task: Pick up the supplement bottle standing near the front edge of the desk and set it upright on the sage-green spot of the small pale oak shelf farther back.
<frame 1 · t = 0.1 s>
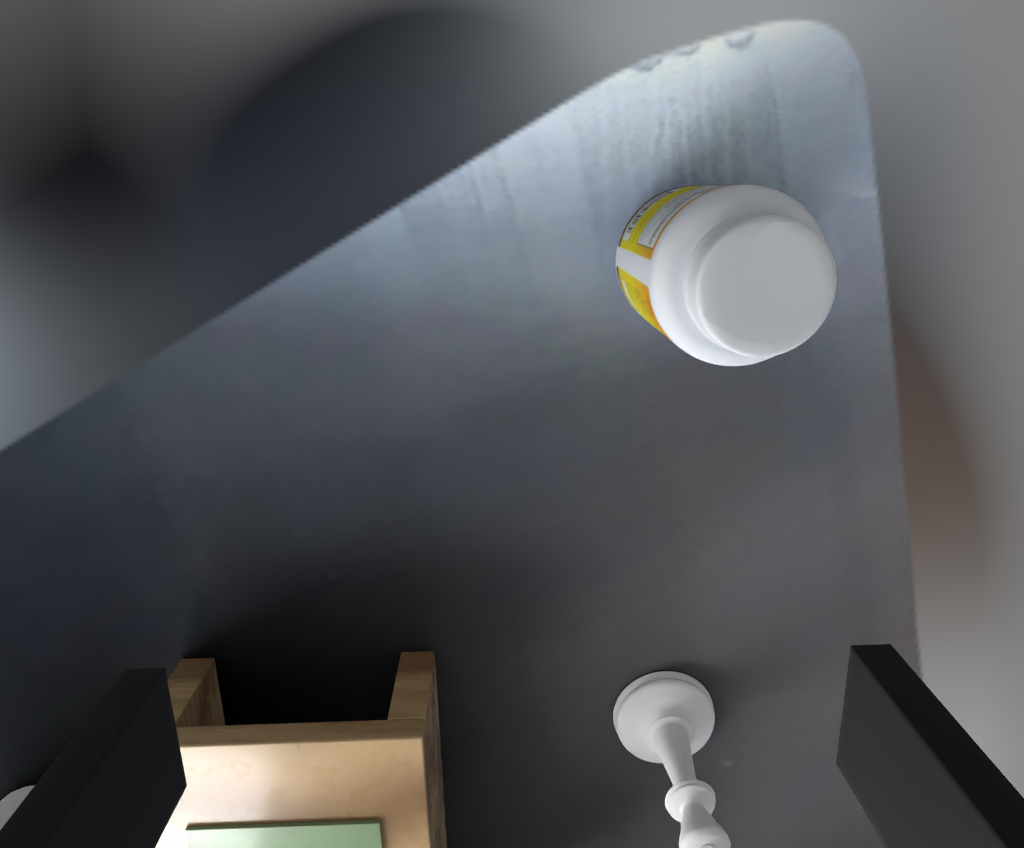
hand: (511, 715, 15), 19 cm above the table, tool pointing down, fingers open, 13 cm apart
shelf: (324, 791, 38), on the table
chess piece: (662, 710, 37), on the table
supplement bottle: (680, 256, 31), on the table
candle: (55, 829, 39), on the table
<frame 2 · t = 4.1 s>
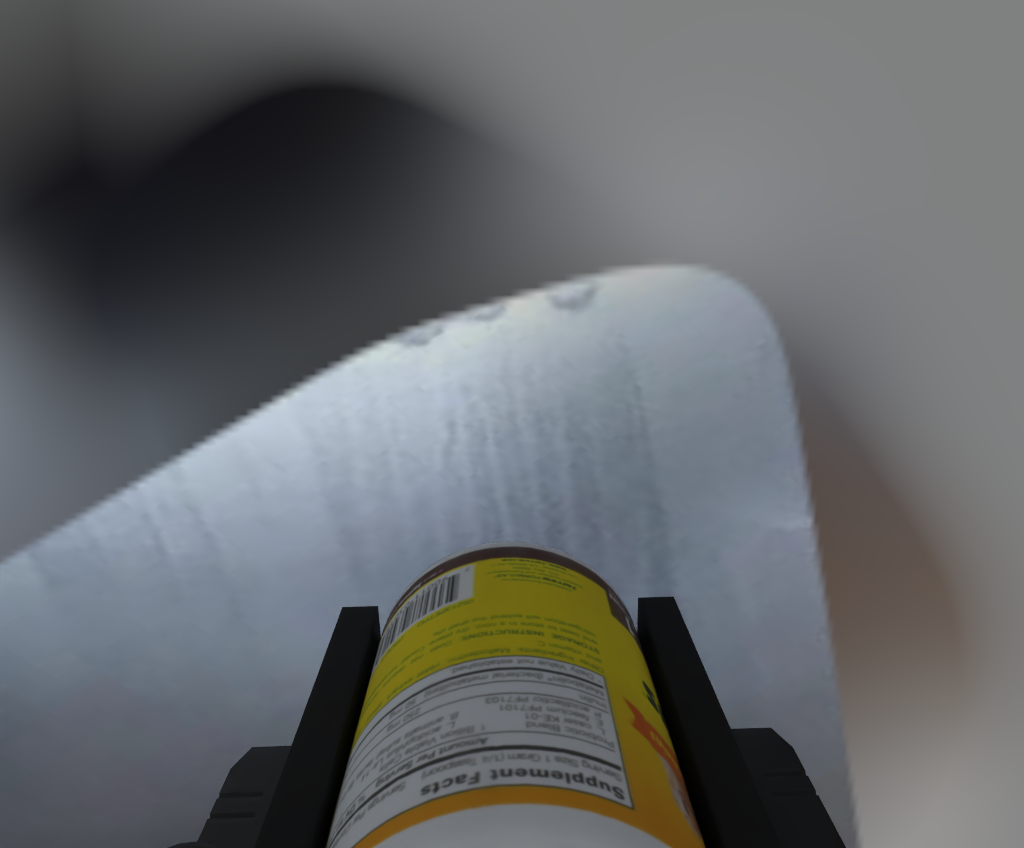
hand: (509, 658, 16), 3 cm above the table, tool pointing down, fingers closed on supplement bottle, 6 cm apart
supplement bottle: (509, 637, 17), point 2 cm above the table, touching gripper
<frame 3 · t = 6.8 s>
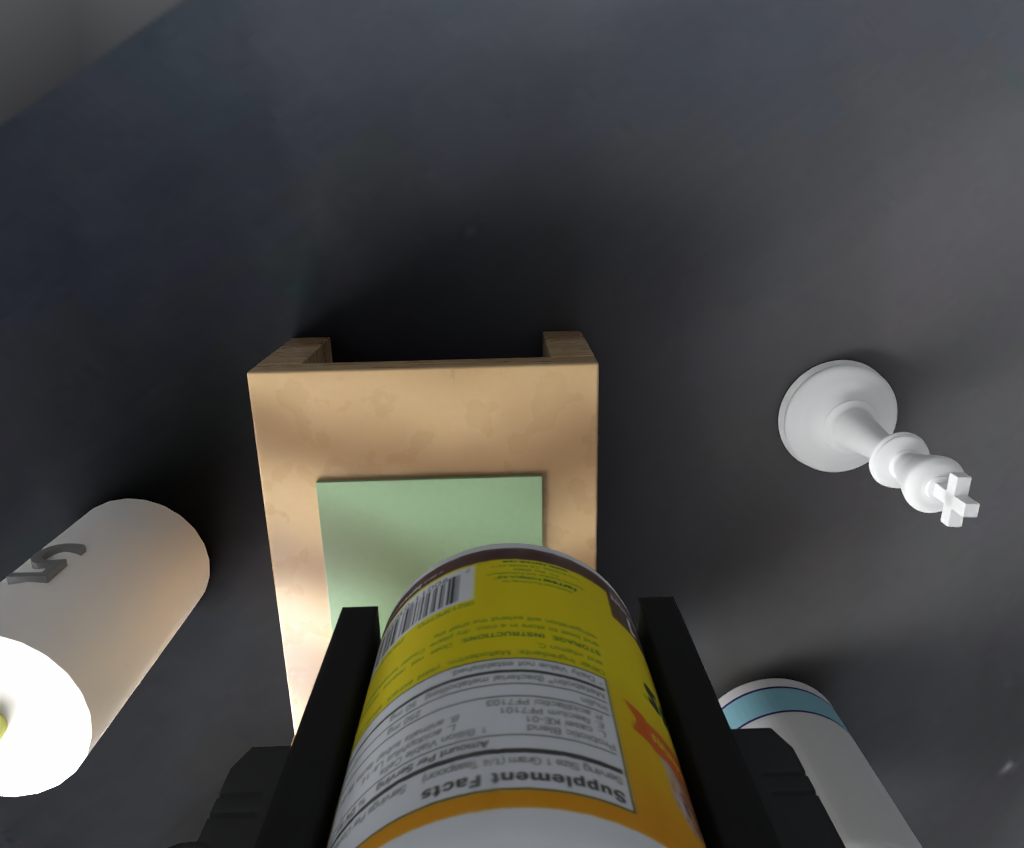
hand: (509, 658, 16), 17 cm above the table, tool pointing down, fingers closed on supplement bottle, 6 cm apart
shelf: (446, 511, 34), on the table
beverage can: (759, 721, 38), on the table
chess piece: (832, 413, 33), on the table
supplement bottle: (510, 639, 17), point 17 cm above the table, touching gripper
candle: (141, 558, 35), on the table
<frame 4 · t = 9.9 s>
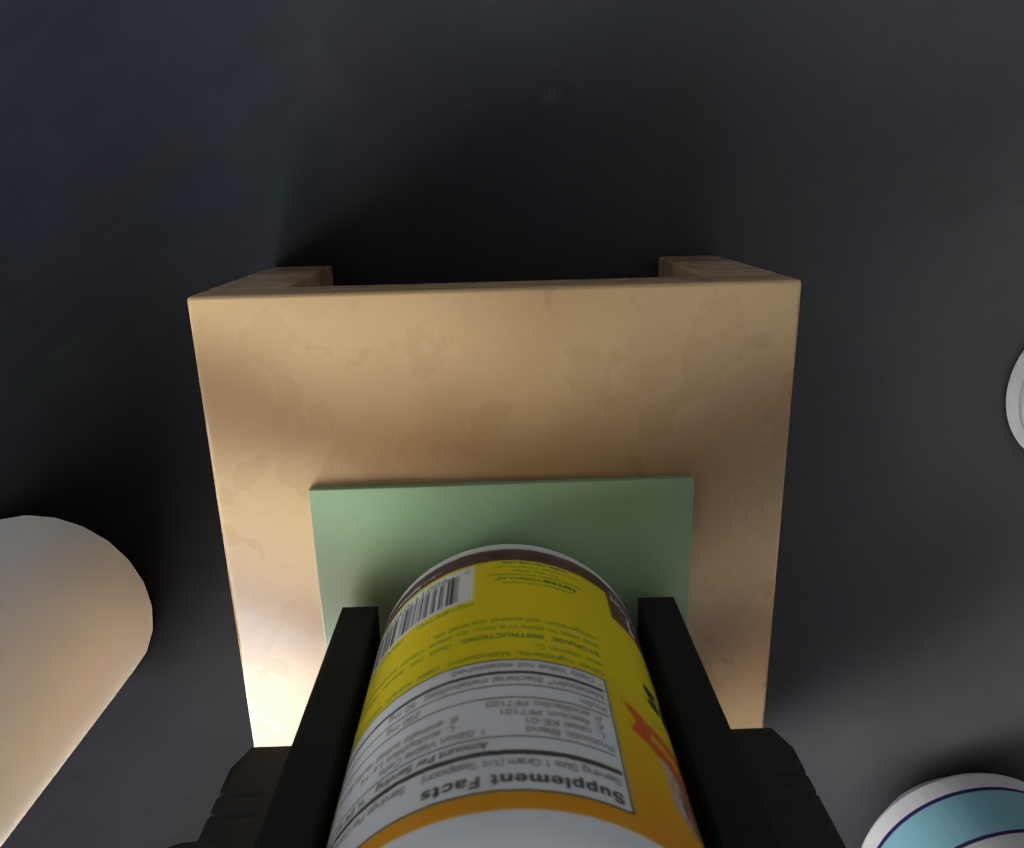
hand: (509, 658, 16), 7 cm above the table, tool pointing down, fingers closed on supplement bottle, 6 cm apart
shelf: (503, 532, 23), on the table
beverage can: (939, 827, 27), on the table
supplement bottle: (509, 640, 17), point 6 cm above the table, touching gripper
candle: (51, 603, 23), on the table
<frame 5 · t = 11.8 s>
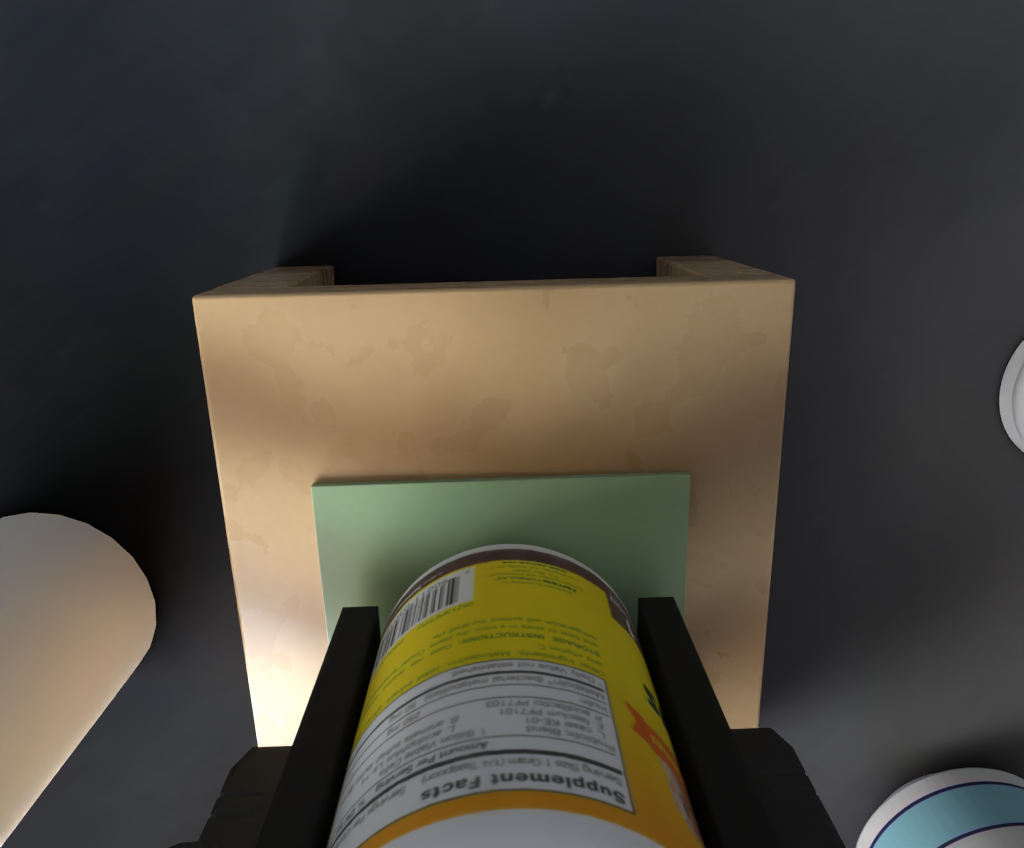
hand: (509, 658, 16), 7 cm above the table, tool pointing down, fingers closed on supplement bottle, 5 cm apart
shelf: (503, 529, 23), on the table
beverage can: (934, 822, 27), on the table
supplement bottle: (510, 640, 17), point 6 cm above the table, touching gripper
candle: (55, 599, 24), on the table
when the fingers open (7 cm above the table, at t = 13.7 s): supplement bottle stays where it is, resting on shelf.
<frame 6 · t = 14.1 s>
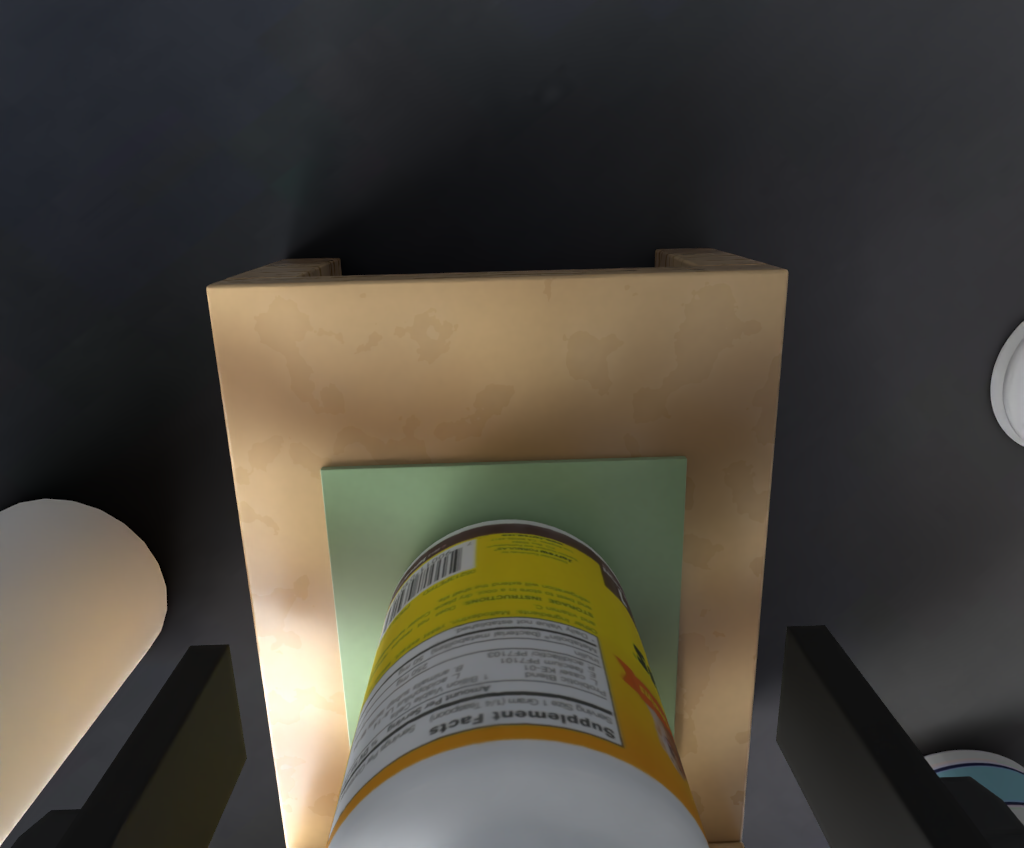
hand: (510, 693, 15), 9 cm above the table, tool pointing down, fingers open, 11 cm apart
shelf: (505, 515, 24), on the table
beverage can: (927, 804, 28), on the table
supplement bottle: (509, 612, 18), point 6 cm above the table, touching shelf
candle: (69, 584, 24), on the table
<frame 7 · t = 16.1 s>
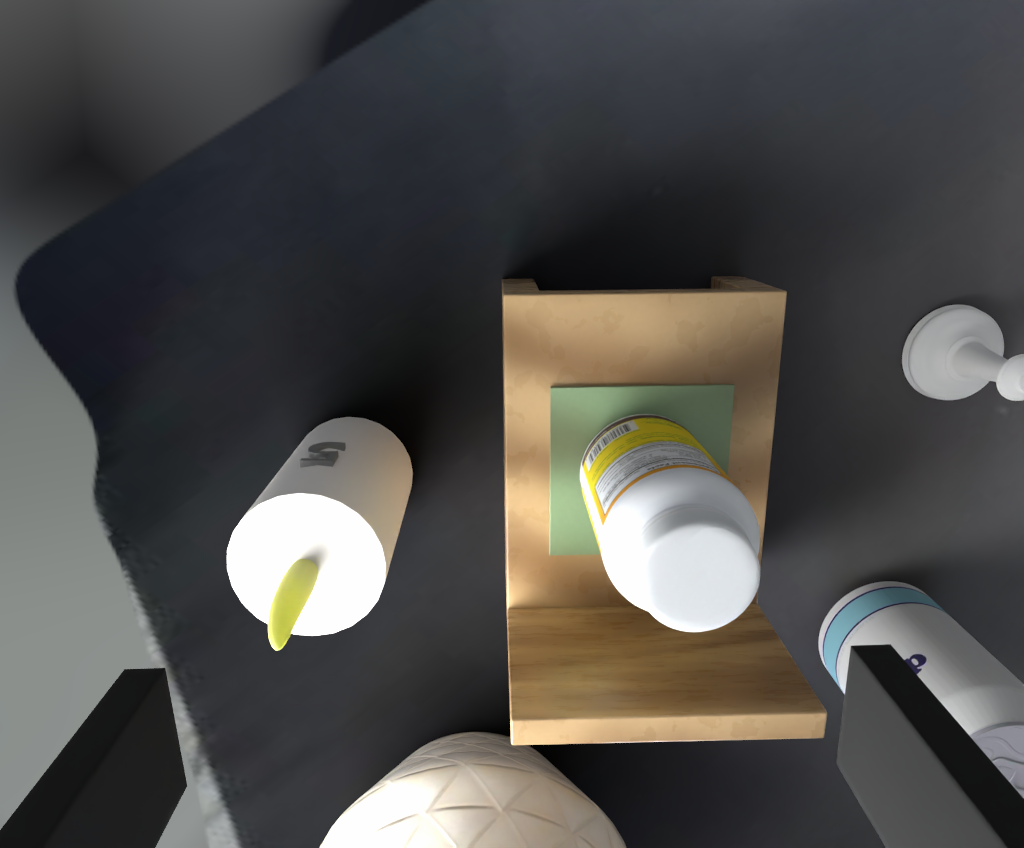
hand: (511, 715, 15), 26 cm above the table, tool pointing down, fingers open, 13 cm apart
shelf: (617, 431, 40), on the table
beverage can: (869, 624, 44), on the table
chess piece: (947, 351, 39), on the table
vase: (476, 802, 47), on the table
supplement bottle: (639, 467, 34), point 6 cm above the table, touching shelf
candle: (353, 470, 40), on the table
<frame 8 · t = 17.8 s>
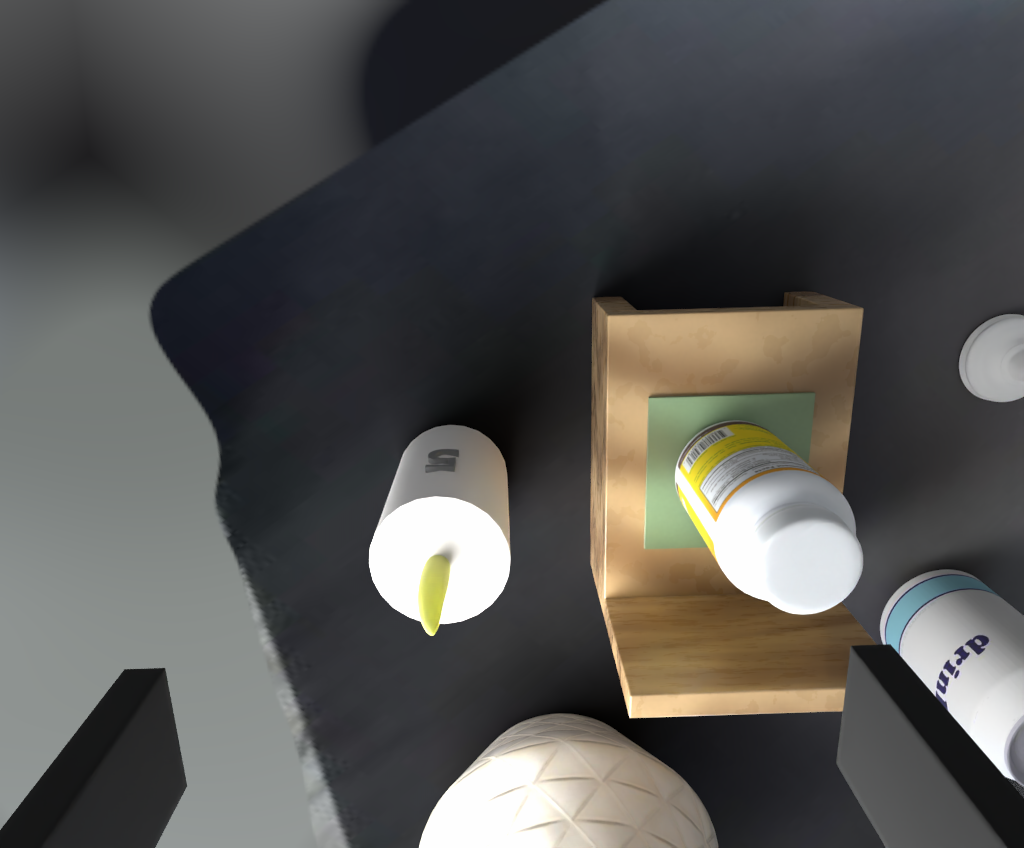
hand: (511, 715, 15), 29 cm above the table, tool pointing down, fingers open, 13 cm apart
shelf: (695, 434, 43), on the table
beverage can: (925, 609, 47), on the table
chess piece: (1000, 357, 43), on the table
vase: (558, 779, 51), on the table
supplement bottle: (726, 468, 38), point 6 cm above the table, touching shelf
candle: (452, 473, 44), on the table
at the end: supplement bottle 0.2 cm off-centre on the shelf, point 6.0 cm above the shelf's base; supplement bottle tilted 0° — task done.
